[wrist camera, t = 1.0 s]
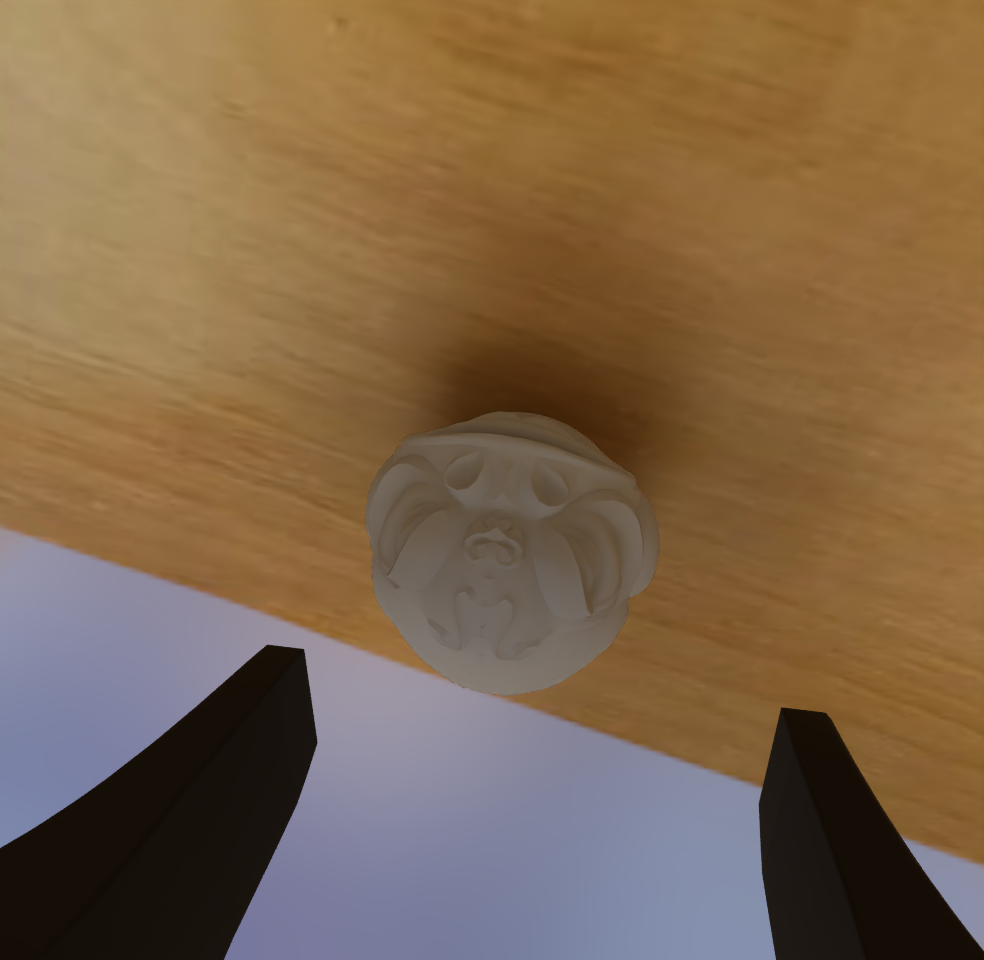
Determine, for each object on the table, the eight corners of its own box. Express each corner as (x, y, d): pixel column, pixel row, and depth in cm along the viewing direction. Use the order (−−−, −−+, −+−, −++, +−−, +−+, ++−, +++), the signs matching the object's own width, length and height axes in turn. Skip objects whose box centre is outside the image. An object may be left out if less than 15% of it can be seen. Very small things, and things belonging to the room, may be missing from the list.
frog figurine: (688, 346, 19) (699, 516, 13) (630, 597, 22) (616, 821, 16) (417, 303, 19) (307, 447, 13) (403, 555, 23) (310, 755, 17)
